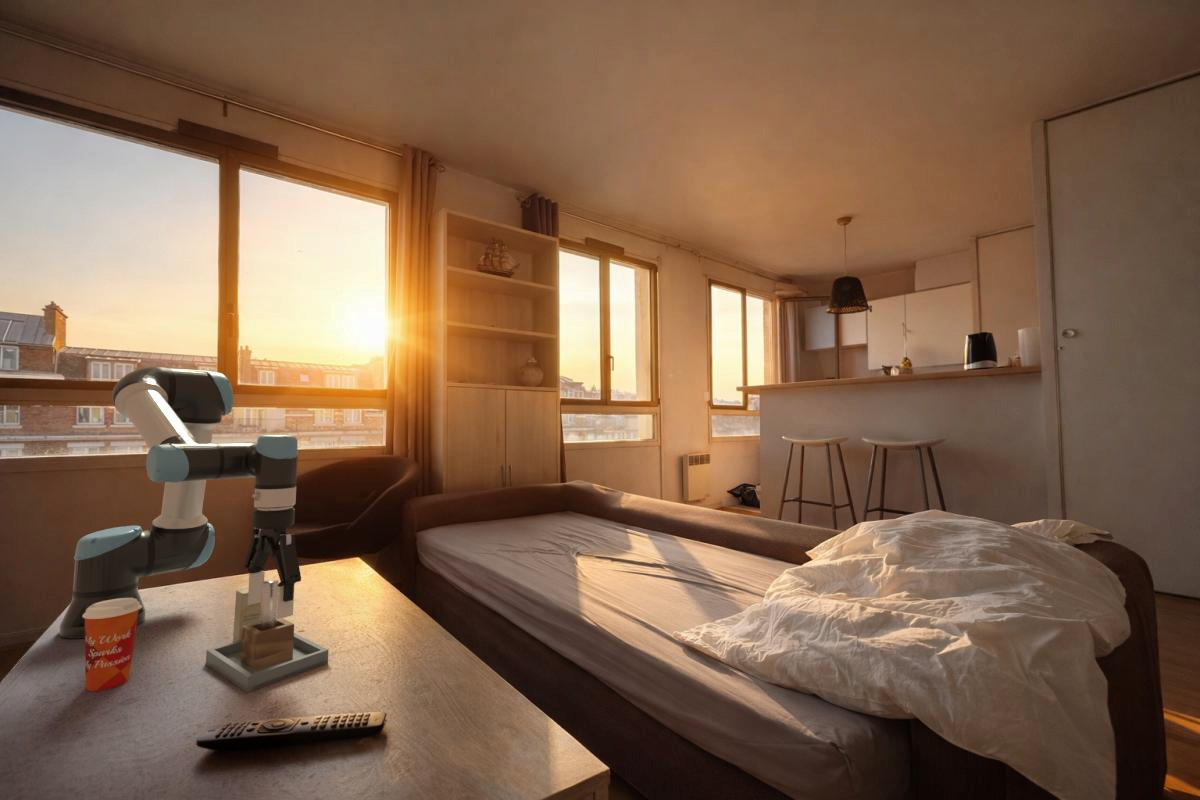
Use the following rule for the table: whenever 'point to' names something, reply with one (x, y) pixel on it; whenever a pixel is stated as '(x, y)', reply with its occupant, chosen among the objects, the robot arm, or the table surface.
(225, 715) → the table surface
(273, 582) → the pin
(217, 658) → the tray
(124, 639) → the coffee cup
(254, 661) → the bored block
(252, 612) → the skincare box
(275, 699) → the table surface
